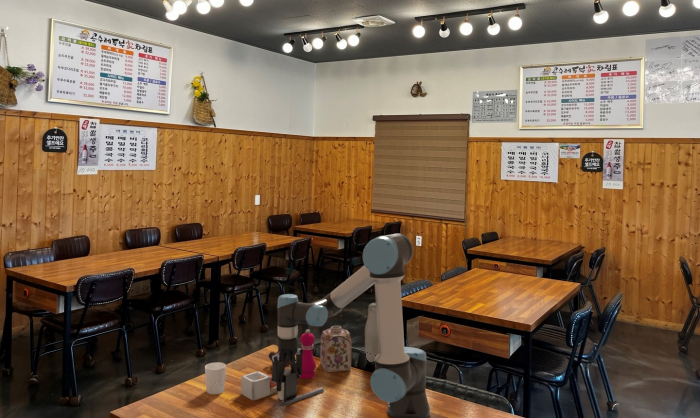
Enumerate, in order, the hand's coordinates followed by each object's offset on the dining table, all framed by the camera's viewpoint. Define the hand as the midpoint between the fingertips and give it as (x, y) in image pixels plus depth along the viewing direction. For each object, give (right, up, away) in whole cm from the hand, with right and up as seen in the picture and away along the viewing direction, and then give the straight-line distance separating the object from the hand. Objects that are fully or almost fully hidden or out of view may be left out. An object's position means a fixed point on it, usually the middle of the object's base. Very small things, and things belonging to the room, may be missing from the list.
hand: (287, 396), depth 197 cm
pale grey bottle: (+35, +1, +36) cm, 50 cm away
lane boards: (-6, 0, +10) cm, 11 cm away
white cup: (-29, 0, +6) cm, 29 cm away
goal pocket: (-12, 0, +3) cm, 13 cm away
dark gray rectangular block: (-4, 0, +4) cm, 5 cm away
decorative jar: (+17, +1, +33) cm, 37 cm away
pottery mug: (-7, +1, +32) cm, 33 cm away
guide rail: (+6, -1, 0) cm, 6 cm away
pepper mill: (+6, 0, +22) cm, 23 cm away
